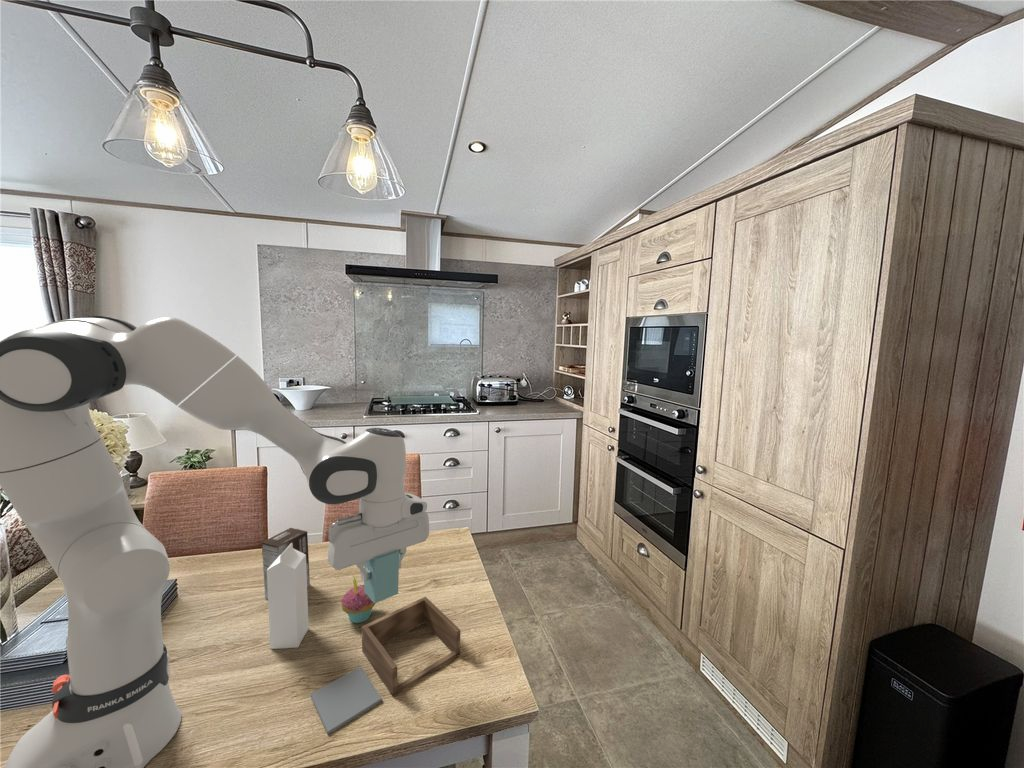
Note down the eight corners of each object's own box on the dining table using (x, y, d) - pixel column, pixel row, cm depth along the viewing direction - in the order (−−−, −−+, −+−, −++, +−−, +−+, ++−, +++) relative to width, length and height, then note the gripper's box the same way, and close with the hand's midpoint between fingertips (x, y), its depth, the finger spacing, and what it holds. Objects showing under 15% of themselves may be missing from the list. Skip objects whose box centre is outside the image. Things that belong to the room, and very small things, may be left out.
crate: (392, 696, 78) (392, 668, 77) (362, 651, 89) (361, 626, 88) (460, 654, 89) (460, 629, 88) (425, 618, 100) (425, 596, 99)
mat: (327, 734, 70) (327, 731, 70) (310, 696, 78) (310, 693, 78) (381, 701, 77) (381, 698, 77) (361, 668, 84) (361, 666, 84)
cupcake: (365, 631, 95) (364, 584, 94) (333, 625, 97) (332, 579, 95) (383, 607, 103) (383, 564, 102) (354, 602, 105) (353, 559, 104)
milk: (270, 649, 89) (264, 556, 86) (282, 629, 95) (277, 542, 92) (298, 647, 90) (294, 555, 87) (309, 628, 96) (305, 541, 93)
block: (374, 603, 78) (375, 559, 78) (364, 591, 82) (364, 549, 81) (398, 593, 82) (399, 551, 81) (387, 582, 85) (387, 542, 85)
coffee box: (293, 579, 114) (291, 526, 112) (310, 585, 112) (308, 530, 110) (263, 599, 106) (260, 541, 104) (281, 605, 103) (279, 546, 102)
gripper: (334, 527, 71) (334, 601, 72) (434, 501, 85) (432, 563, 86) (322, 515, 75) (322, 585, 77) (418, 492, 89) (417, 551, 91)
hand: (381, 573), depth 81 cm, fingers closed on block, 5 cm apart
